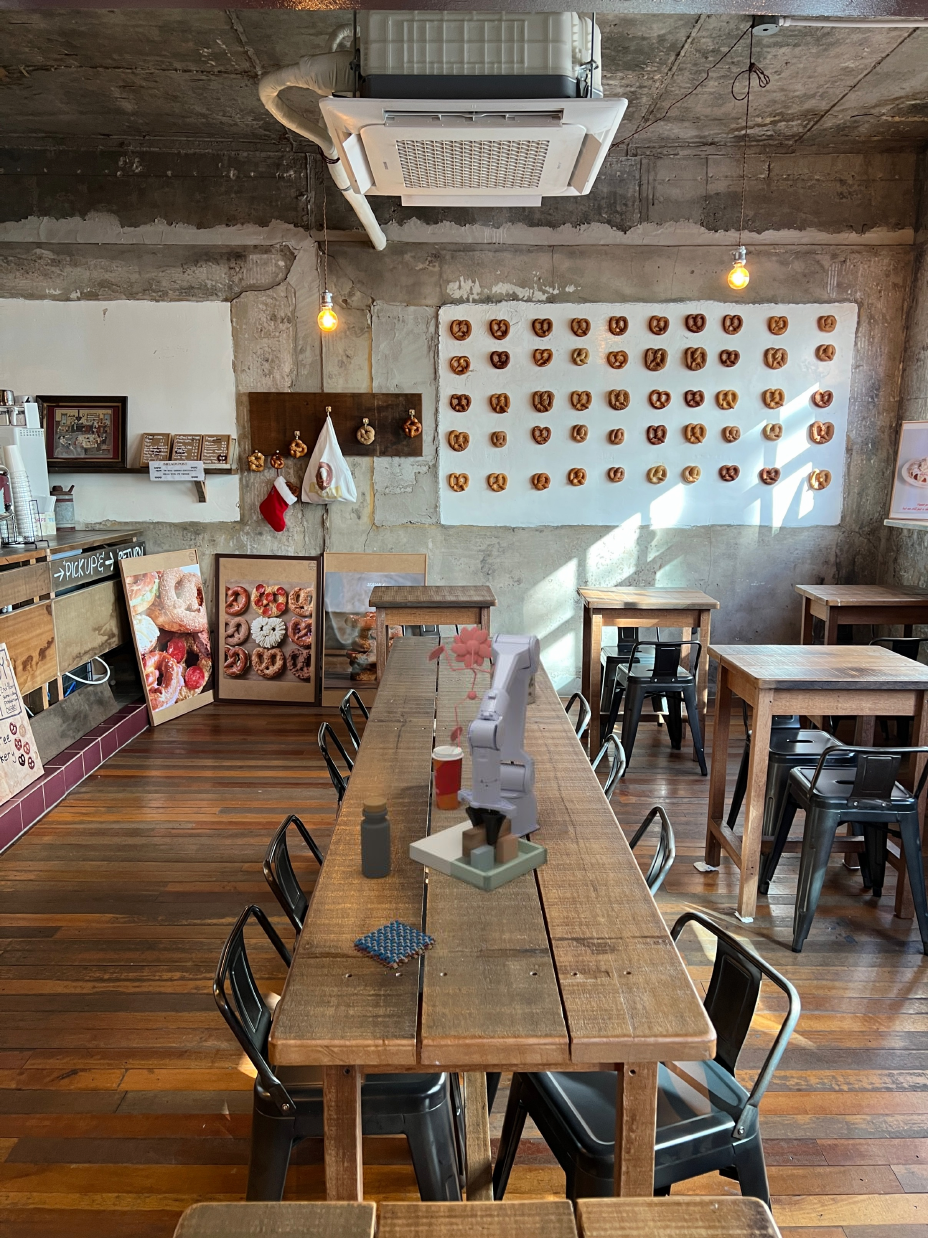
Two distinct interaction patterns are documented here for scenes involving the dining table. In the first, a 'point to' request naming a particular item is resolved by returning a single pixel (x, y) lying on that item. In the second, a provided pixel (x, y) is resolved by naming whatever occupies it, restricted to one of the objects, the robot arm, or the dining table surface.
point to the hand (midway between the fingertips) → (486, 842)
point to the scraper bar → (481, 837)
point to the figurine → (467, 659)
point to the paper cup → (447, 776)
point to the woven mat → (394, 944)
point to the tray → (501, 867)
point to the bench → (441, 848)
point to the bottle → (375, 838)
